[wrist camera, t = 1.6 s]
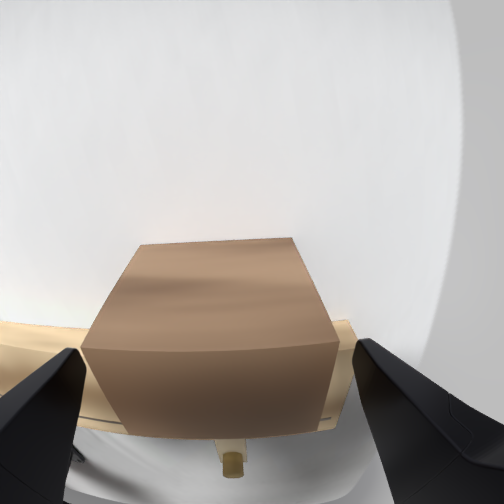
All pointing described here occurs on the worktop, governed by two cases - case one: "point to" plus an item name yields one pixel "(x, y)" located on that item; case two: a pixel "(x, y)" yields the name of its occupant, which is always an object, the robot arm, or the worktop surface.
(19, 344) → the board
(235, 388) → the brown block with rod
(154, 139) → the worktop surface
